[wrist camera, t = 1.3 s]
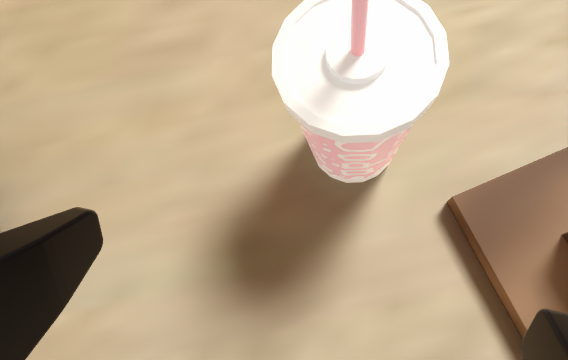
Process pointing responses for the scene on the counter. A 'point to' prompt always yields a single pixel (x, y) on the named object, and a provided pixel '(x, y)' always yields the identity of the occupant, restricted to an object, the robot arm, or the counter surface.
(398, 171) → the counter surface
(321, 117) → the beverage cup
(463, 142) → the counter surface
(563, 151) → the cup holder
